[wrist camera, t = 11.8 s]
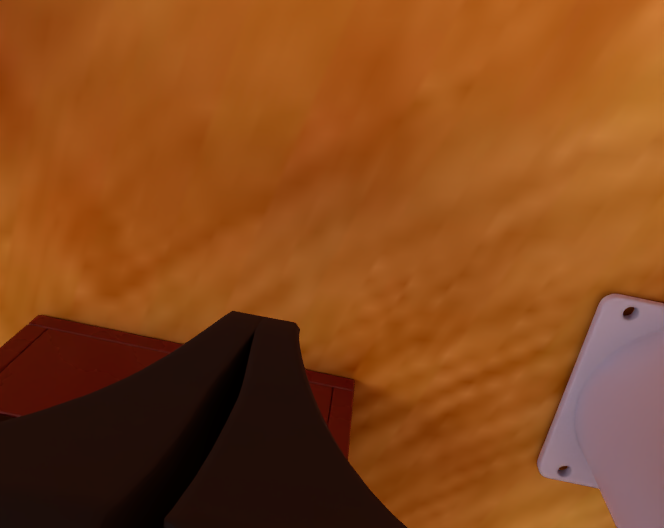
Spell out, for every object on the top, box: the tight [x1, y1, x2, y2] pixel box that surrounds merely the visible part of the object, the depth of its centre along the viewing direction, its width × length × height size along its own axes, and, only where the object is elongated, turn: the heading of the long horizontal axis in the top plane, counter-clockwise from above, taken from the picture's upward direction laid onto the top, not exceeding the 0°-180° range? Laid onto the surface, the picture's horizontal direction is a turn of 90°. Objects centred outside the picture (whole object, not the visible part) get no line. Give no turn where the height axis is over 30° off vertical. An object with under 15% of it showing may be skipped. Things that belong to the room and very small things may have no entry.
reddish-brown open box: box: [0, 315, 355, 460], centre depth 23 cm, size 11×13×6 cm
